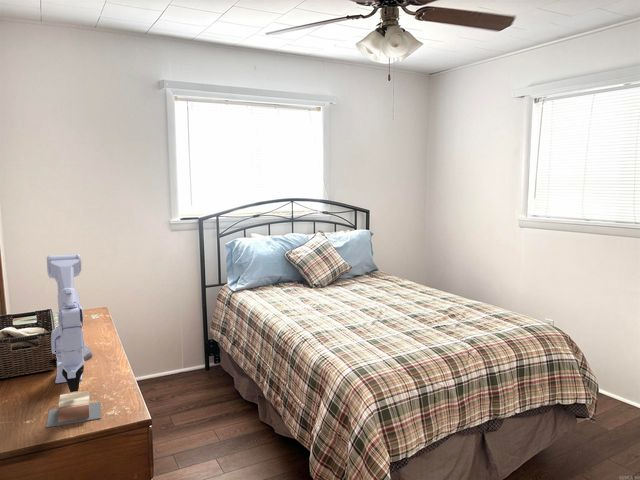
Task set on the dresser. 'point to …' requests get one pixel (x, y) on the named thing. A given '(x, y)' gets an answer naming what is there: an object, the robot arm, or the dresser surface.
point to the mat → (94, 414)
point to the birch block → (74, 406)
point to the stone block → (87, 352)
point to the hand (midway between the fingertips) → (74, 390)
